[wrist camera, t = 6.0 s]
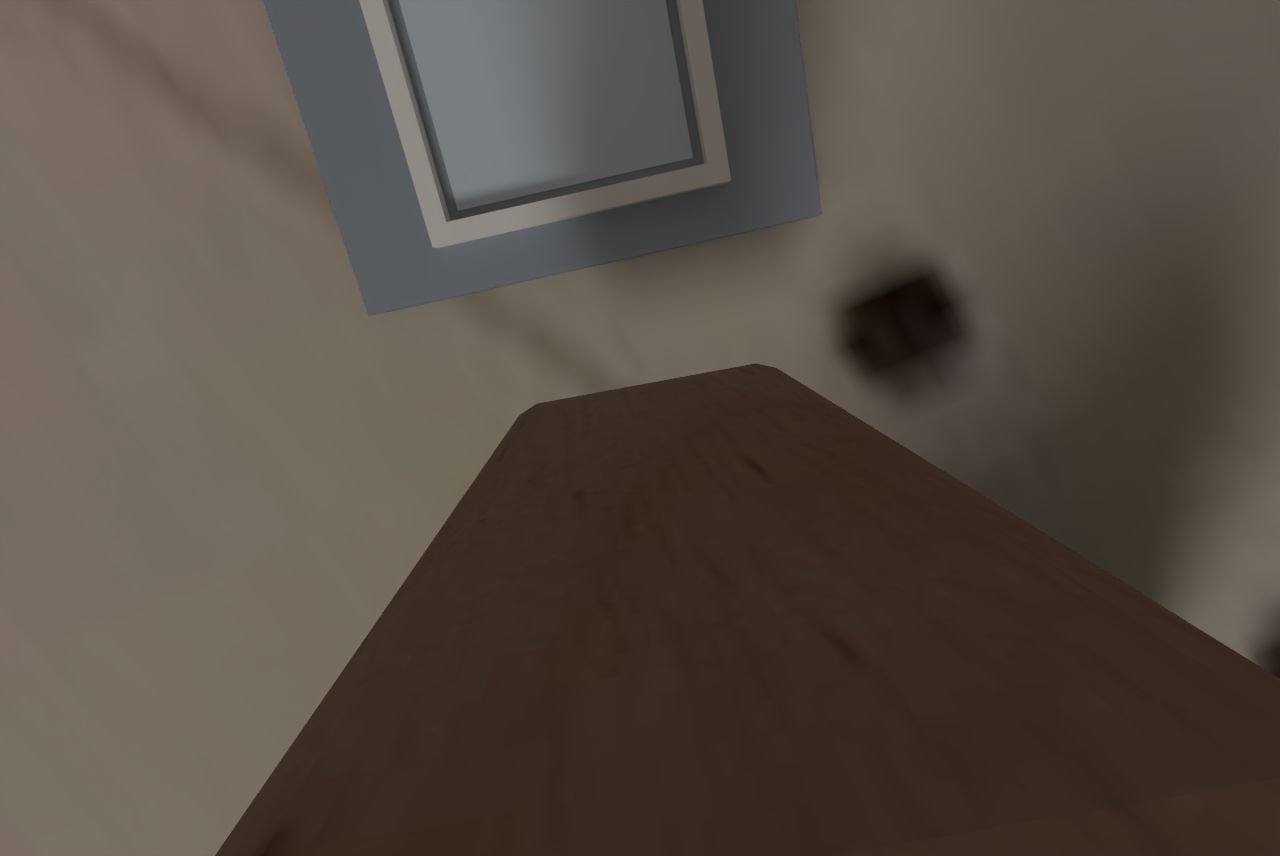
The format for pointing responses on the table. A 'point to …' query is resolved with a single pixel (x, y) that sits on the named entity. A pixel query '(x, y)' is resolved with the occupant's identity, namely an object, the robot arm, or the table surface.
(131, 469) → the table surface
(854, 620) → the wooden block
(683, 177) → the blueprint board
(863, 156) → the table surface
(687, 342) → the table surface
